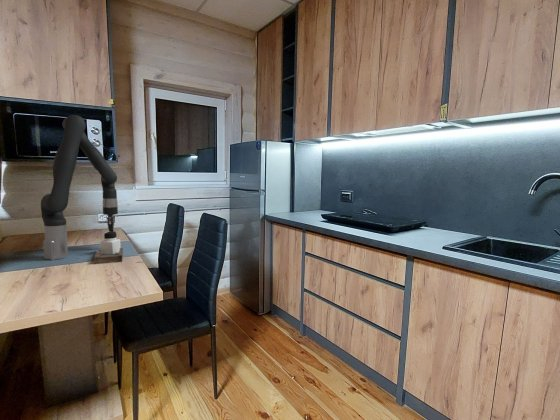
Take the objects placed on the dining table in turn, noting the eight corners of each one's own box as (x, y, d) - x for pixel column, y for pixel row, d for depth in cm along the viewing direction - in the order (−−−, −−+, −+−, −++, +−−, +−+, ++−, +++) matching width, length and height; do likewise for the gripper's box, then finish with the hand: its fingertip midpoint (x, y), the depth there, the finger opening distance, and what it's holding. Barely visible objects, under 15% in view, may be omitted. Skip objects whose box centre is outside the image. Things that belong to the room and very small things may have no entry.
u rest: (98, 255, 162) (97, 249, 161) (122, 253, 167) (122, 247, 167) (94, 264, 146) (94, 258, 145) (122, 261, 151) (121, 255, 151)
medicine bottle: (120, 251, 170) (120, 231, 169) (112, 254, 163) (112, 233, 162) (109, 251, 171) (108, 230, 169) (100, 254, 164) (99, 232, 162)
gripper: (103, 205, 176) (104, 233, 178) (101, 207, 164) (102, 238, 166) (117, 204, 180) (118, 233, 182) (117, 207, 168) (118, 237, 170)
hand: (111, 235), depth 174 cm, fingers closed
